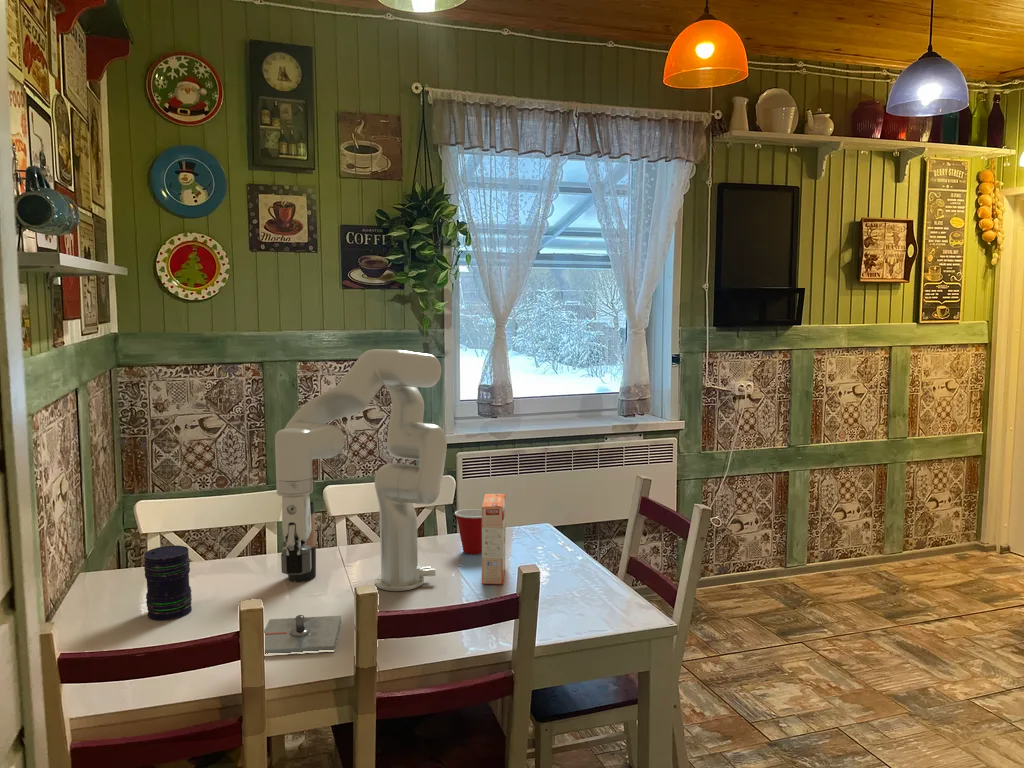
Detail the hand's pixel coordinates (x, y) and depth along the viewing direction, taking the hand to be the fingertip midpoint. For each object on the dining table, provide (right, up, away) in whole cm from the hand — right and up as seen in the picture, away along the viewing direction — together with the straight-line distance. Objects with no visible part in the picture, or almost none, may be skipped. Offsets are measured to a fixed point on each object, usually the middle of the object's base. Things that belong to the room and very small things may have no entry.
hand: (296, 566), depth 172 cm
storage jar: (-35, -15, +17) cm, 42 cm away
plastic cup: (+35, -10, +60) cm, 71 cm away
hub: (0, -16, +2) cm, 16 cm away
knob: (0, -1, 0) cm, 1 cm away
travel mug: (-9, -12, +40) cm, 43 cm away
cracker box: (+42, -12, +40) cm, 59 cm away
